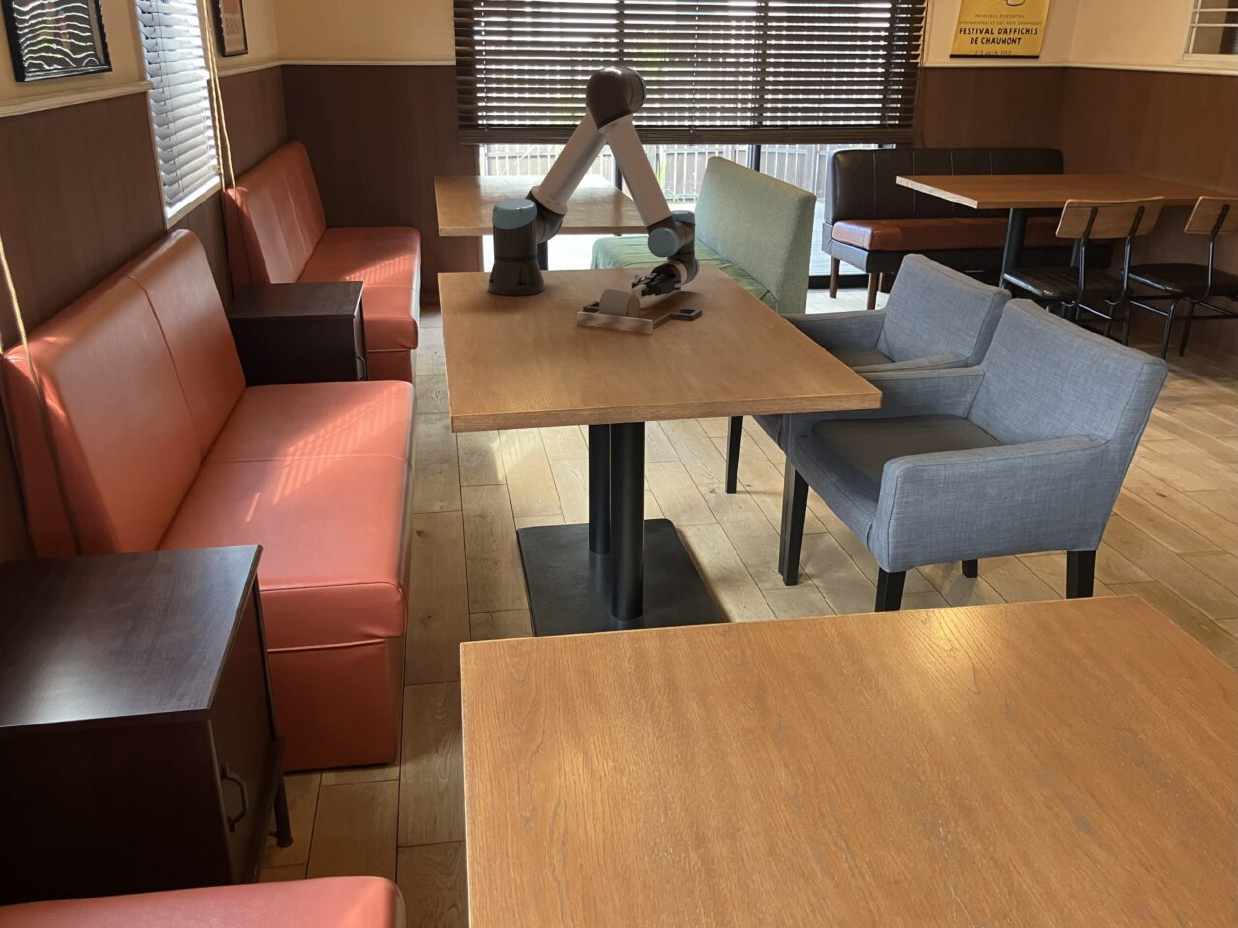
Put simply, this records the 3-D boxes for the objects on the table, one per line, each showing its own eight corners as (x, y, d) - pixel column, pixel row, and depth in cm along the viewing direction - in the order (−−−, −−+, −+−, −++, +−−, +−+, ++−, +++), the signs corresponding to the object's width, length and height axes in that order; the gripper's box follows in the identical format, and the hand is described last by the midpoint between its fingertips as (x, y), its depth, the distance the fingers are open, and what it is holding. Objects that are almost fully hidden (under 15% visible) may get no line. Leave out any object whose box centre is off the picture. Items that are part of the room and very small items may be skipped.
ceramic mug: (628, 327, 243) (629, 295, 241) (597, 323, 247) (598, 291, 244) (647, 318, 252) (648, 287, 250) (617, 314, 256) (617, 284, 253)
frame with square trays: (560, 323, 247) (559, 310, 246) (599, 303, 267) (599, 291, 265) (668, 335, 237) (669, 323, 236) (701, 314, 256) (702, 302, 255)
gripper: (691, 293, 268) (658, 313, 248) (644, 289, 272) (608, 308, 252) (692, 265, 265) (658, 282, 245) (645, 260, 270) (608, 277, 249)
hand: (633, 295), depth 249 cm, fingers closed
